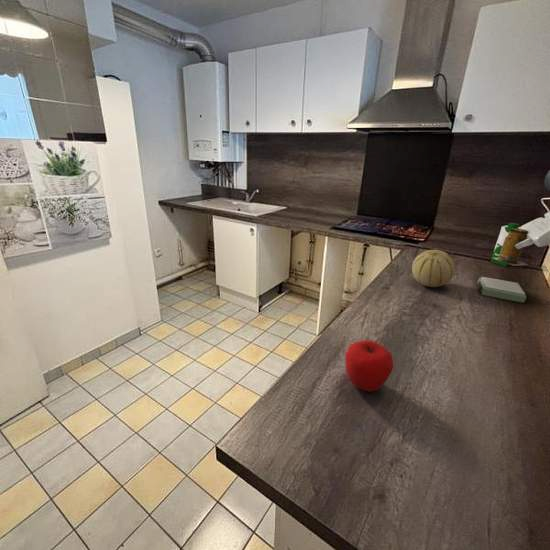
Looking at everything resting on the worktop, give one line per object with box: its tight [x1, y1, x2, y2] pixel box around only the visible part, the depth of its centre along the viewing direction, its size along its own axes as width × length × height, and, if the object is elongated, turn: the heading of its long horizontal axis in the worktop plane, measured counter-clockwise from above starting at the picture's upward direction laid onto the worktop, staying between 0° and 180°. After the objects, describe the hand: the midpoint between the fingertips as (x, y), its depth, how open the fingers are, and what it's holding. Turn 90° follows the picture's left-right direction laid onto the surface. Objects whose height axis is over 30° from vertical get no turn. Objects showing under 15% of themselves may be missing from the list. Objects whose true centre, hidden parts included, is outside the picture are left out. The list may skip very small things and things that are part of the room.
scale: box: [477, 276, 527, 304], centre depth 112 cm, size 13×12×3 cm
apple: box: [344, 339, 394, 393], centre depth 63 cm, size 10×10×11 cm
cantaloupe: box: [411, 249, 456, 288], centre depth 114 cm, size 15×15×15 cm
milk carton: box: [490, 222, 521, 267], centre depth 141 cm, size 9×9×20 cm
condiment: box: [494, 228, 529, 267], centre depth 106 cm, size 7×8×12 cm
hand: (513, 244), depth 107 cm, fingers closed on condiment, 6 cm apart
